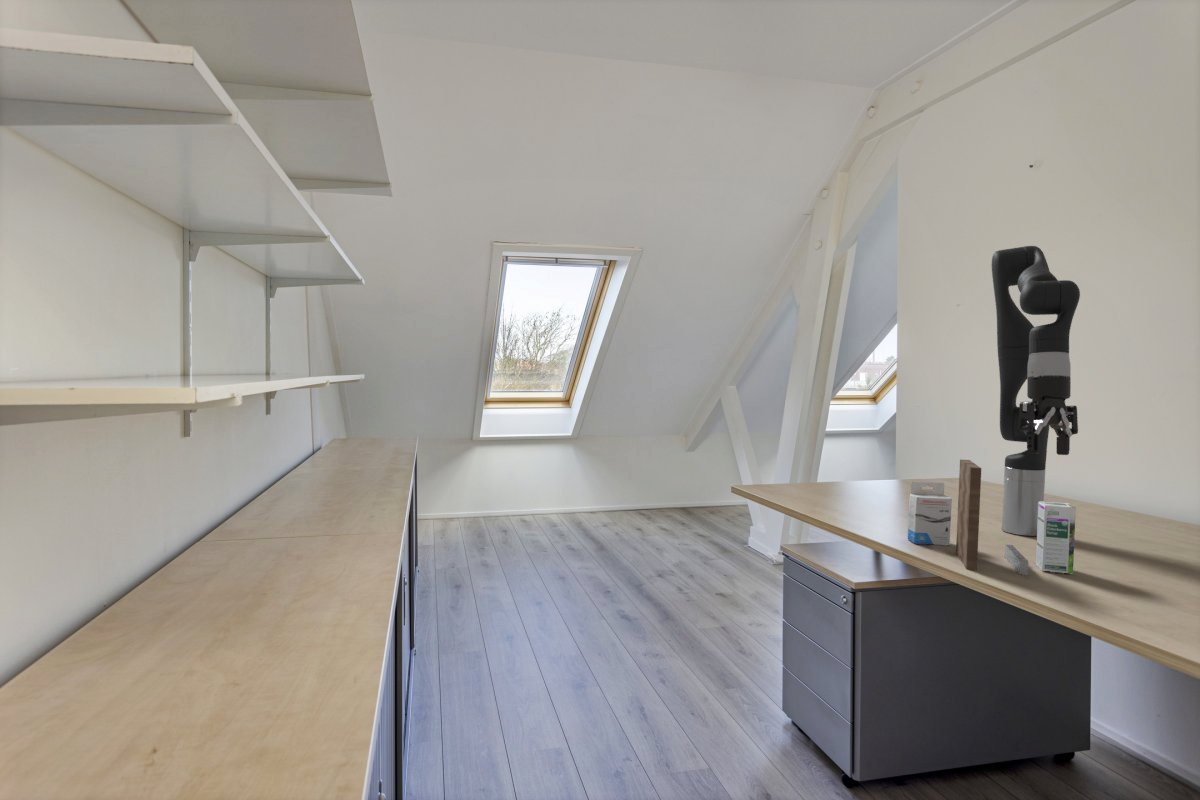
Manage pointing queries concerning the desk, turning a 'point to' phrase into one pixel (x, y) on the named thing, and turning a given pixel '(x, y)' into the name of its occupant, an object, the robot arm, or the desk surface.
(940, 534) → the ink box
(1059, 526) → the syrup box
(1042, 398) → the robot arm
